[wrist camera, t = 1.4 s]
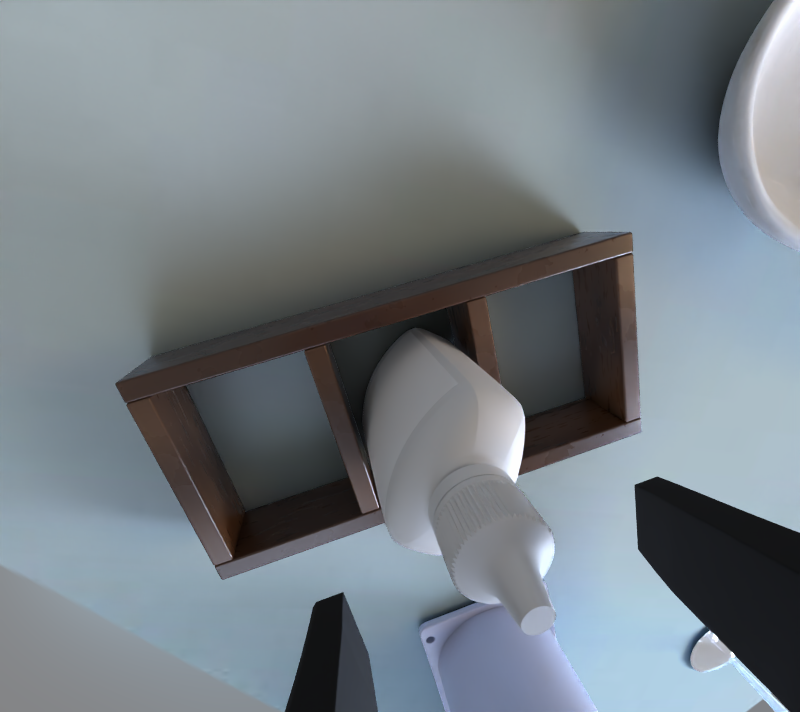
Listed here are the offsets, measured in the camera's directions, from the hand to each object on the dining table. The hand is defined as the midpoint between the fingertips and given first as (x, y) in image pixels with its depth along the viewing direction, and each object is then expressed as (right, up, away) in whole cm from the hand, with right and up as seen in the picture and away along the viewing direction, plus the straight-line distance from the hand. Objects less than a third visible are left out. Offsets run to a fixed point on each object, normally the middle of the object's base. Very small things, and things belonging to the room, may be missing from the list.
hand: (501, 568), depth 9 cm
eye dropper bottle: (-2, +4, +10) cm, 10 cm away
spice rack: (-2, +4, +9) cm, 10 cm away
